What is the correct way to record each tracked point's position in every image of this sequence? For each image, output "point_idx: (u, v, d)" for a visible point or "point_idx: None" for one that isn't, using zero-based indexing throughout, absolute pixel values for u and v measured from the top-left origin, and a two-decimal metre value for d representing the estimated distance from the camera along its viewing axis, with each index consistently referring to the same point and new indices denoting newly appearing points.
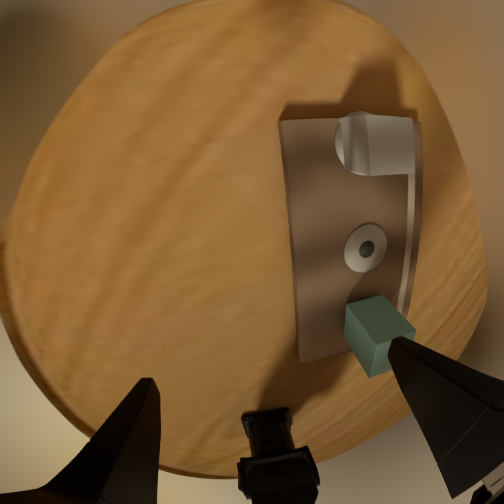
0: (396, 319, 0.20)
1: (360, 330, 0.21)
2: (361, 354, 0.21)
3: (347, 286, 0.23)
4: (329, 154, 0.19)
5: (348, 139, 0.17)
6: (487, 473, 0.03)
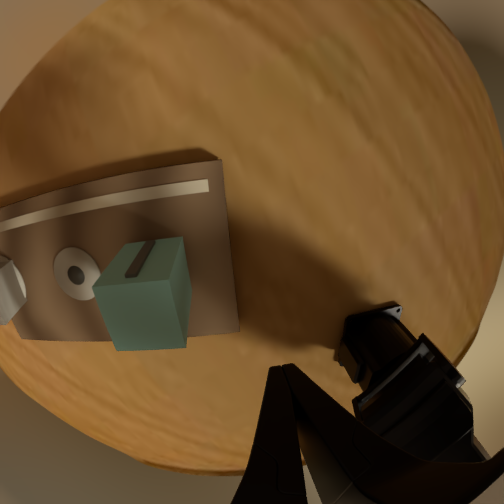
0: None
1: None
2: None
3: None
4: (24, 311, 0.18)
5: None
6: None
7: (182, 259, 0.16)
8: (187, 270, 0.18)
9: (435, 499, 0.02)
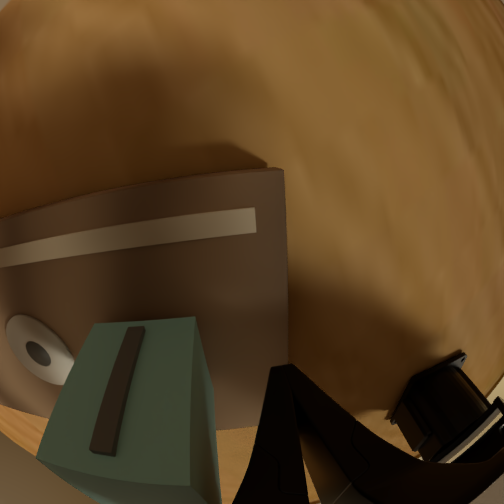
0: None
1: None
2: None
3: None
4: None
5: None
6: None
7: (199, 366, 0.08)
8: (206, 368, 0.10)
9: (434, 500, 0.02)
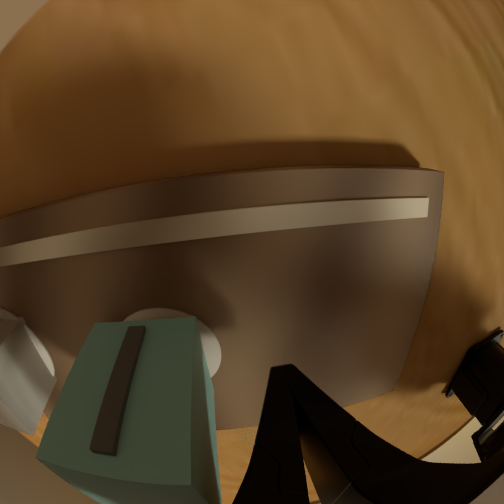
0: None
1: None
2: None
3: (253, 371, 0.11)
4: (51, 390, 0.11)
5: None
6: None
7: (199, 366, 0.08)
8: (206, 368, 0.10)
9: (434, 500, 0.02)
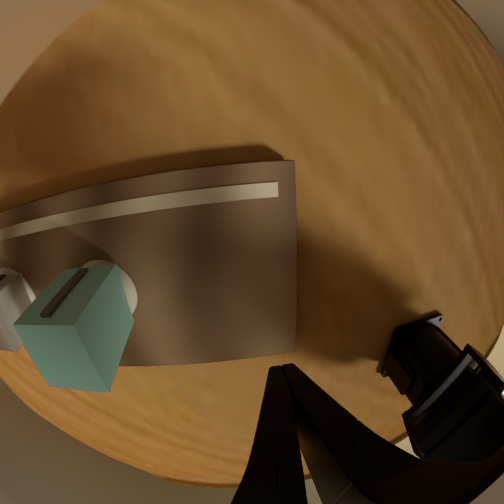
0: None
1: None
2: None
3: (160, 311, 0.16)
4: None
5: None
6: None
7: (113, 291, 0.13)
8: (124, 300, 0.15)
9: (435, 499, 0.02)
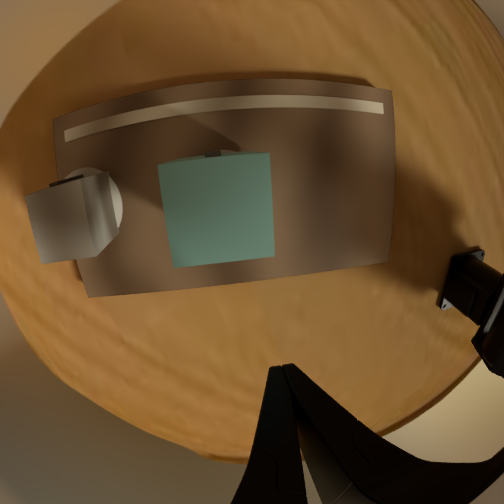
0: None
1: None
2: None
3: (281, 208, 0.17)
4: (107, 250, 0.16)
5: None
6: None
7: None
8: None
9: (435, 499, 0.02)
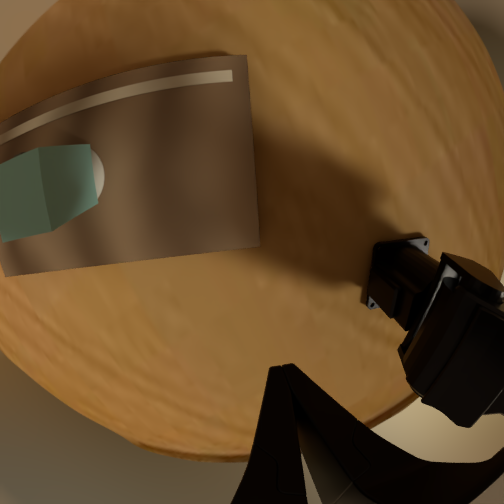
0: None
1: None
2: None
3: (124, 193, 0.16)
4: None
5: None
6: None
7: (81, 159, 0.13)
8: (91, 178, 0.14)
9: (435, 499, 0.02)
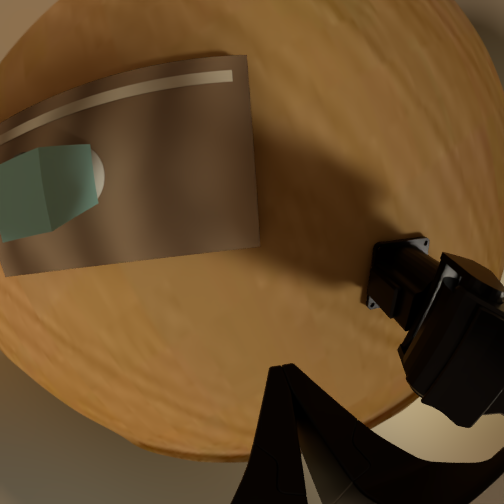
0: None
1: None
2: None
3: (124, 193, 0.16)
4: None
5: None
6: None
7: (81, 160, 0.13)
8: (91, 178, 0.14)
9: (435, 499, 0.02)
